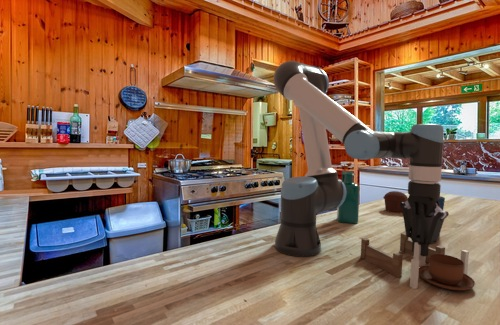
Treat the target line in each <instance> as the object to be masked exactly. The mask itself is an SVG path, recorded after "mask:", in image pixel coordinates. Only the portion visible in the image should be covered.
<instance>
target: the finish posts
mask: <svg viewBox="0 0 500 325" xmlns="http://www.w3.org/2000/svg"><path fill="white" fill-rule="evenodd" d="M469 256H470V251H469V250H466V249H461V250H460V260H462V261H463V262H464V270H463V273H464V274H466V275H468V268H469ZM410 261H411V262H410V277H409V287H410V288H412V290H415V289H418V286H419V268H420V267H419V260H417V259H414V258H411V260H410Z"/></svg>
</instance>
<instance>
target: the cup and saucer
mask: <svg viewBox="0 0 500 325" xmlns="http://www.w3.org/2000/svg"><path fill="white" fill-rule="evenodd" d="M463 270H464V262H463V261H462V260H461V258H458V257H455V256H452V255H447V254H445V255H443V254H432V255H430V256H429V263H428V265H425V266H422V267H419V274H418V276H419V277H421V278H422V279H423V280H425V281H426V282H428V283H429V284H432V285H434V286H436V287H438V288H442V289H445V290H449V291H450V290H452V291H467V290H471V289H473V288H474V286H475V285H476V284H475V280H474V279H473V278H472V277H471V276H469V275H468V274H467V275H466V274H464V273H463Z"/></svg>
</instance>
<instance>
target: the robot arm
mask: <svg viewBox="0 0 500 325" xmlns="http://www.w3.org/2000/svg"><path fill="white" fill-rule="evenodd" d="M273 84H274V87H275V90H276V91H277V92H278V93H279V94H280V95H281V96H282V97H283V98H284V99H286V100H288V101H293V105H294V106H295V107H297V108H298V112H299V119H300V125H301V133H302V138H303V146H304V152H305V159H306V166H307V172H306V173H305V174H304V176H293V177H289V178H286V179H284V180H283V182H282V183H281V190H280V225H279V228H278V230H277V234H276V237H275V239H274V248H275V249H276V251H278V252H280V253H282V254H284V255H287V256H292V257H311V256H312V257H313V256H316V255H318V254H320V252H321V250H322V248H321V247H322V242H321V238H320V236H319V232H318V228H317V214H320V213H324V212H328V211H329V212H330V211H334V210H335V209H337V208H338V207H340V206H341V205H342V204H343V202H344V201H345V198H346V187H345V185H344V183H343V182H342V179H340V178H339V175H338V171H337V170H336V169H334V168H333V166H332V160H331V154H330V146H329V140H328V133H327V131H328V132H329V133H330V134H331V135H333V137H335V138H336V139H338V140H339V141H340V142H341V143H342V144H343V145H344V150H345V152H346V154H347V155H348V156H349V157H350V158H352V159H356V160H362V161H365V160H373V159H409V163H408V164H409V166H408V177H407V178H408V179H409V181H408V182H407V194H408V196H407V197H408V201H406V202H401V203H400V206H401V208H402V211H403V213H402V216H403V218H402V219H403V223H404V230H405V233H406V236H407V237H409V239H410V240H412V252H414V257H413V259H417V260H419V268H420V267H422V266H426V262H425V258H426V256H428V249H429V247H430V245H435V244H437V243H438V241H439V240H438V239H439V237H440V236H439V234H441V231H442V228H443V225H444V222H445V219H447V217H448V216H449V211H447V210H444V209H443V210H442V209H441V208H440V204H439V201H438V198H439V196H441V186H442V185H441V184H440V183H439V182H441V181H442V168H443V166H442V165H443V153H444V144H445V140H444V138H445V136H444V126H443V125H441V124H438V123H419V124H412V126H411V129H410V131H403V132H402V131H399V132H398V131H379V130H378V131H377V130H376V131H375V130H373V129H371V128H370V127H369V126H367V125H366V124H365V123H363V122H362V121H361V120H360V119H359V118H357V117H356V116H354V115H353V114H351V112H349V111H348V110H346V109H345V108H344V107H343V106H341V105H340V104H339V103H338V102H336V101H334V100H333V99H332V98H330V97H329V96H328V95H327V92H328V89H329V87H330V80H329V77H328V75H327V72H325V71H324V70H323V69H322V68H320V67H318V66H316V65H309V64H306V63H303V62H299V61H295V60H288V61H285V62H282V63H281V64H279V65H278V67H277V68H276V69H275V72H274V73H273ZM434 213H435V214H434ZM433 214H434V215H435V217H434V218H433ZM432 219H433V221H432ZM431 221H432V224H431Z"/></svg>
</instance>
